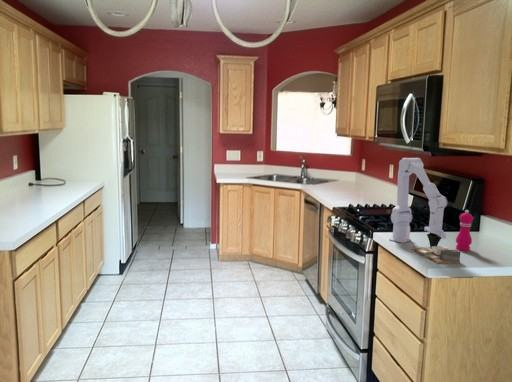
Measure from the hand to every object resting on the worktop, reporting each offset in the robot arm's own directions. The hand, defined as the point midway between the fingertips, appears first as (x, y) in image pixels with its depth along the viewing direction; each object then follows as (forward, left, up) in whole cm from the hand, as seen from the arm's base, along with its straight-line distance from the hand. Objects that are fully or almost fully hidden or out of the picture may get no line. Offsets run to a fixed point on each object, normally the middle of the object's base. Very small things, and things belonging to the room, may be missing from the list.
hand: (433, 248), depth 214 cm
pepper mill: (-18, +8, -2) cm, 20 cm away
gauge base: (+4, +3, -2) cm, 5 cm away
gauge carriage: (+4, +3, -1) cm, 5 cm away
